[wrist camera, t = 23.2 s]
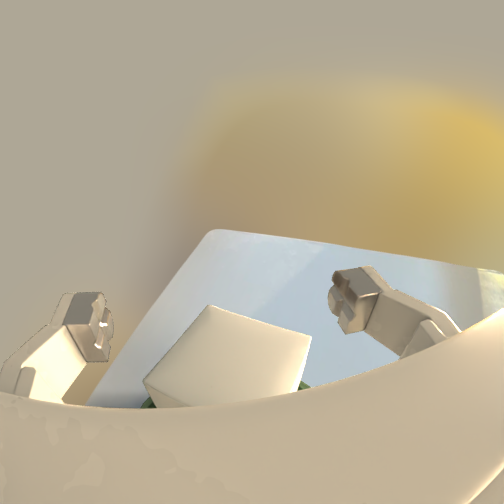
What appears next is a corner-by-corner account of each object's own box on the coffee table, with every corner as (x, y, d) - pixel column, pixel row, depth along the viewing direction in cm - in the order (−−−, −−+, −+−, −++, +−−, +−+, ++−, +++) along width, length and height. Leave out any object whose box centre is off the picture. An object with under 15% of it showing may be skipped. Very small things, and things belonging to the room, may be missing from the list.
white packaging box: (289, 419, 22) (317, 334, 15) (258, 485, 16) (272, 445, 10) (219, 393, 24) (208, 300, 18) (180, 450, 19) (137, 380, 12)
